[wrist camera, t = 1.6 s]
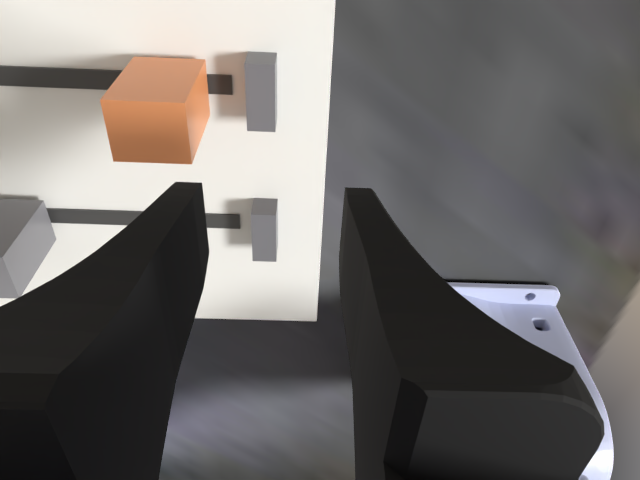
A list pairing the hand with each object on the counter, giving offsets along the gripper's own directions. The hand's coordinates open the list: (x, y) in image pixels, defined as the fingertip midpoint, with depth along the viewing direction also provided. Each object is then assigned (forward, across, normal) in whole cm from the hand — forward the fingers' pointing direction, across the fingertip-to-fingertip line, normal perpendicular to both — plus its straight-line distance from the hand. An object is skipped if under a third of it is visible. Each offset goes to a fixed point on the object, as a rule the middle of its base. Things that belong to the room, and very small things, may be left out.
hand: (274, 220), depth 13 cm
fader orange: (+8, +4, 0) cm, 9 cm away
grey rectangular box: (+8, +11, +6) cm, 15 cm away
